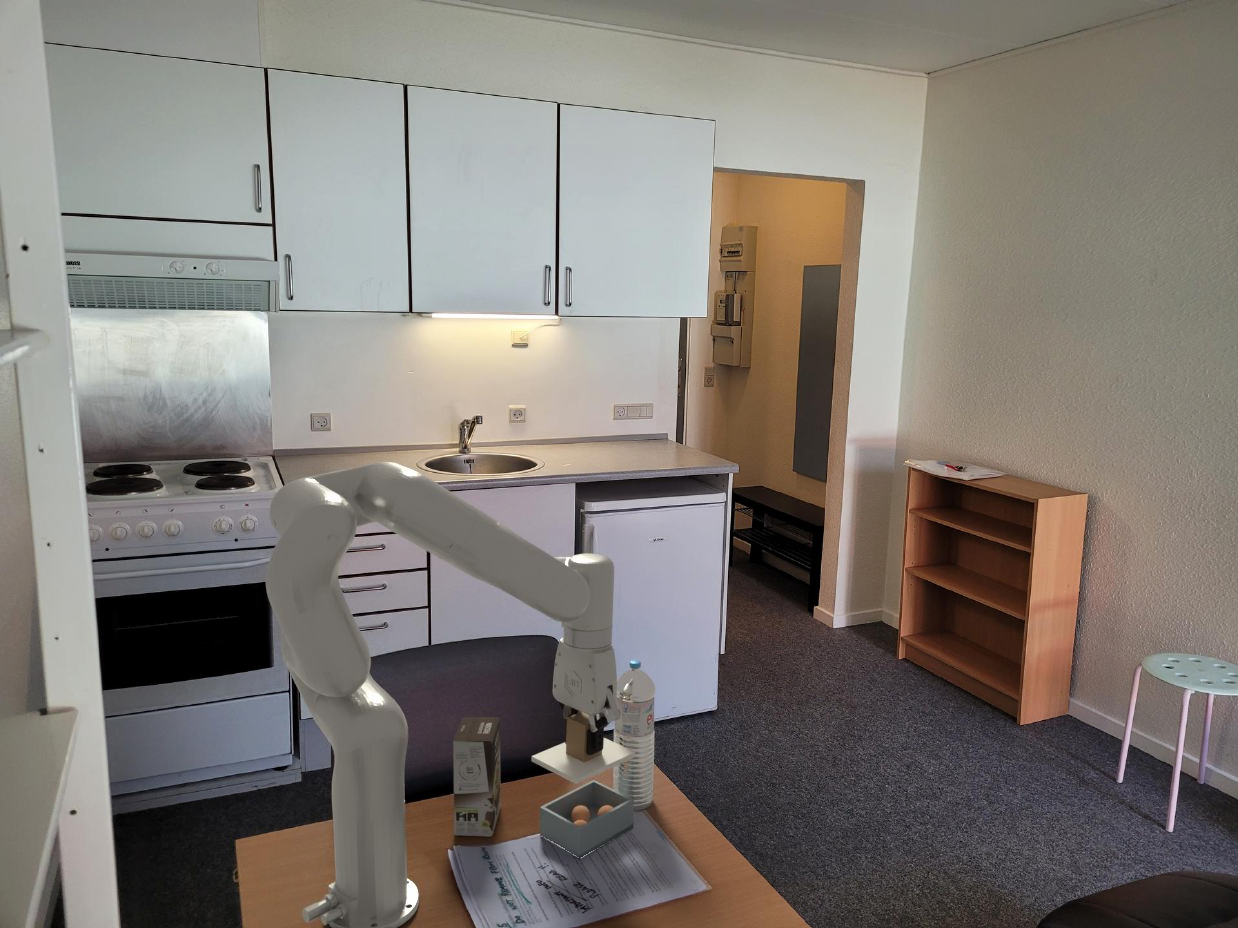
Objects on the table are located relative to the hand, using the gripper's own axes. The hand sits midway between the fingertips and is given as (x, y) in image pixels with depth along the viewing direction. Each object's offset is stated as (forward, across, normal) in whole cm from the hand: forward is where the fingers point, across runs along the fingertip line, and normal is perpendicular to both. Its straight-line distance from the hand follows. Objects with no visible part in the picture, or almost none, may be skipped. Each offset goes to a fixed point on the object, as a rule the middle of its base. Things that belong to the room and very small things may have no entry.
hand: (584, 745), depth 144 cm
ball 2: (+13, +2, -2) cm, 13 cm away
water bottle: (+15, -1, +13) cm, 20 cm away
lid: (+2, 0, 0) cm, 2 cm away
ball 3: (+12, +2, +4) cm, 13 cm away
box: (+15, 0, +1) cm, 15 cm away
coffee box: (+15, -15, -9) cm, 23 cm away
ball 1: (+13, -1, +1) cm, 13 cm away
